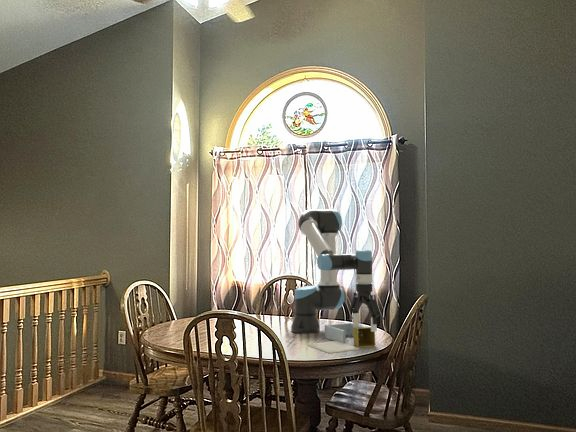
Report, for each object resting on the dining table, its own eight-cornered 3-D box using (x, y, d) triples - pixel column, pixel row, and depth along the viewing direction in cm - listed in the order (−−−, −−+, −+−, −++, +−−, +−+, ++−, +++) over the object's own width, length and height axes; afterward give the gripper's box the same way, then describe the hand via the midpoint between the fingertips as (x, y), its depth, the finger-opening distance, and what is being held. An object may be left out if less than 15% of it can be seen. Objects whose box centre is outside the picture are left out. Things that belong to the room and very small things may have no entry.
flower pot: (349, 345, 246) (358, 347, 238) (349, 326, 247) (357, 328, 239) (366, 344, 249) (375, 346, 241) (366, 325, 250) (374, 326, 242)
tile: (307, 345, 243) (307, 344, 243) (336, 341, 250) (336, 340, 250) (329, 353, 227) (329, 352, 227) (359, 349, 235) (359, 348, 235)
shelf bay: (324, 337, 260) (324, 325, 260) (350, 334, 268) (350, 322, 268) (343, 343, 246) (343, 330, 246) (369, 340, 254) (369, 328, 254)
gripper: (342, 281, 254) (342, 326, 254) (374, 285, 233) (375, 334, 232) (355, 281, 258) (355, 324, 257) (387, 284, 236) (388, 332, 235)
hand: (364, 329), depth 244 cm, fingers open, 13 cm apart
